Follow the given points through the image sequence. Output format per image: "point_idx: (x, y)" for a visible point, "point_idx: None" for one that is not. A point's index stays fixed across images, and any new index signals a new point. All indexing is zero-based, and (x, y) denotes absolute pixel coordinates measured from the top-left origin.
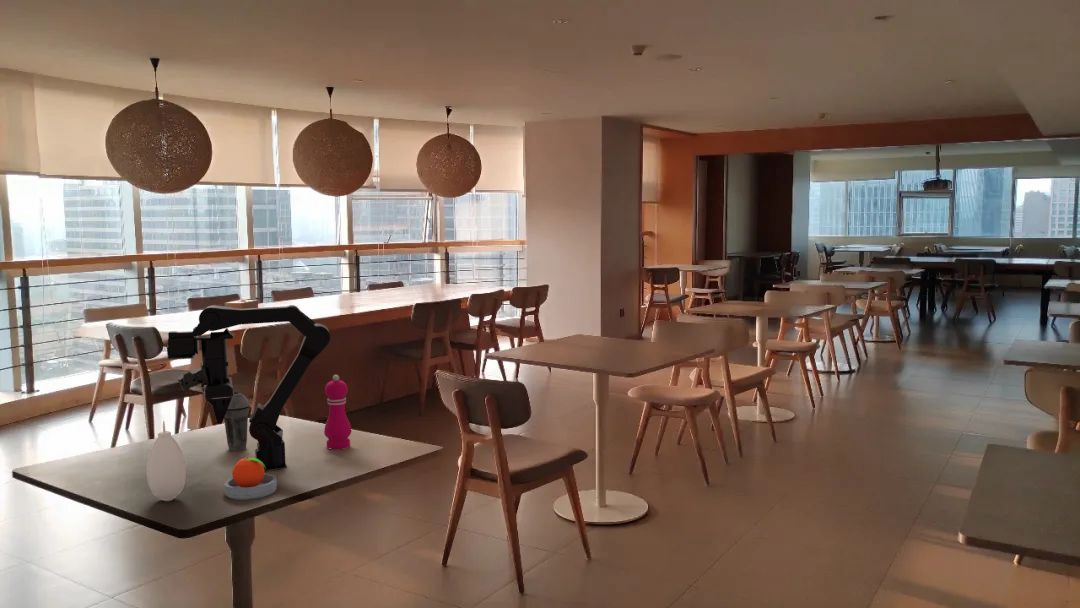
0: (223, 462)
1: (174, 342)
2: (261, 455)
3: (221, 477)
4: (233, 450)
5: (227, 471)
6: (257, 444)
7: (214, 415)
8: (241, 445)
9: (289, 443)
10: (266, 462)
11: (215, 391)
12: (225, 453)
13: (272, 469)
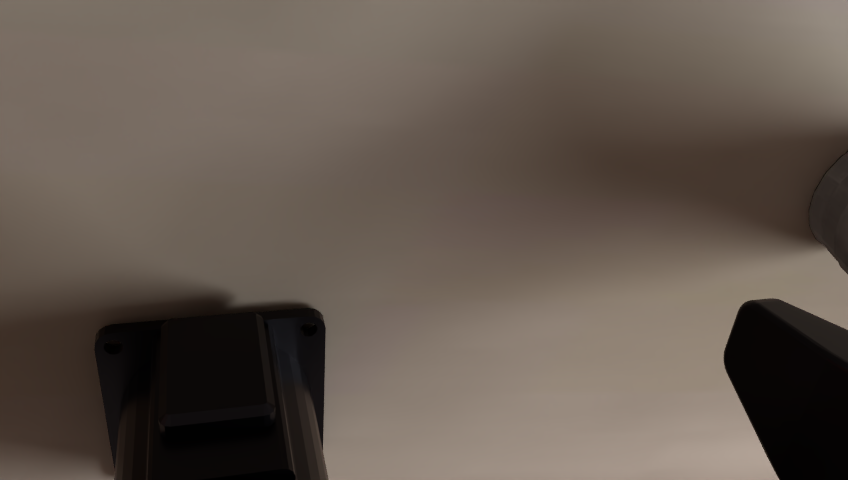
0: (574, 67)
1: None
2: (148, 426)
3: (47, 6)
4: (837, 166)
5: (252, 77)
6: (259, 463)
7: (753, 313)
8: (831, 239)
9: (732, 472)
10: (131, 410)
11: None
12: (823, 103)
13: (107, 404)
